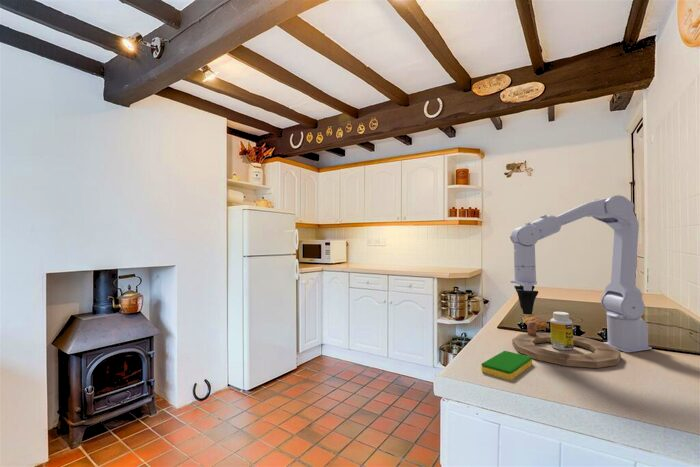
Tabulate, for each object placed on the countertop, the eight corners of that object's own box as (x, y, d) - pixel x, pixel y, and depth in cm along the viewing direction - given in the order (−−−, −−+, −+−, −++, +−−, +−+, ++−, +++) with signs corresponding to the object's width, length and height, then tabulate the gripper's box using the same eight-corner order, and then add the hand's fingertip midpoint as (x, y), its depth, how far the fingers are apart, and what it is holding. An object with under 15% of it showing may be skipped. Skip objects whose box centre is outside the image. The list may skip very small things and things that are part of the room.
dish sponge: (532, 366, 86) (532, 356, 86) (510, 382, 76) (510, 371, 76) (504, 359, 91) (504, 350, 91) (480, 373, 82) (480, 363, 82)
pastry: (555, 330, 116) (554, 319, 116) (540, 333, 114) (539, 321, 114) (532, 324, 125) (532, 314, 125) (518, 326, 123) (518, 316, 123)
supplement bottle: (568, 352, 94) (566, 316, 94) (547, 347, 99) (546, 312, 99) (577, 348, 97) (575, 313, 97) (556, 343, 102) (555, 310, 102)
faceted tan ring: (559, 334, 110) (558, 317, 110) (644, 360, 86) (643, 338, 86) (495, 342, 103) (494, 324, 104) (568, 372, 79) (567, 349, 79)
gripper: (508, 264, 109) (510, 306, 108) (511, 268, 95) (512, 315, 95) (533, 264, 106) (534, 307, 106) (539, 268, 93) (541, 317, 92)
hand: (526, 311), depth 100 cm, fingers open, 7 cm apart
